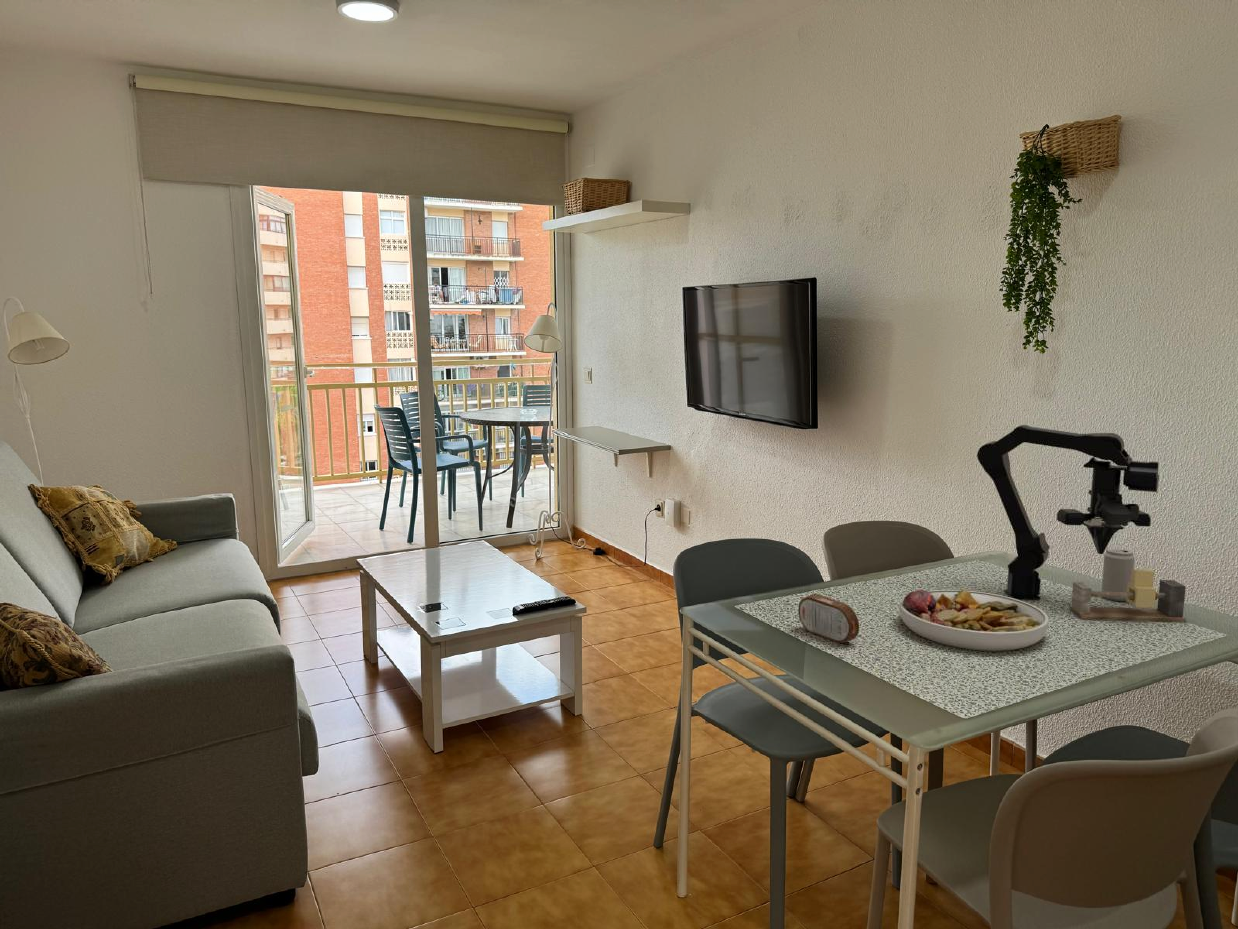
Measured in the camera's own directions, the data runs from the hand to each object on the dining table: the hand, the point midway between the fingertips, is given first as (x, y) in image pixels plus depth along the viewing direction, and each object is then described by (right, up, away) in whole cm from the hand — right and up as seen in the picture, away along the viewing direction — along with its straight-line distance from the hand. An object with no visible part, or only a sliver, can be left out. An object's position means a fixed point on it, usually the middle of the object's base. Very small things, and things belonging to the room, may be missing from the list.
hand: (1100, 553), depth 204 cm
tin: (-68, -16, -17) cm, 72 cm away
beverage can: (+9, -12, +9) cm, 17 cm away
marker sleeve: (+6, -11, -5) cm, 14 cm away
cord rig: (+3, -14, -4) cm, 15 cm away
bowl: (-36, -16, -13) cm, 41 cm away
